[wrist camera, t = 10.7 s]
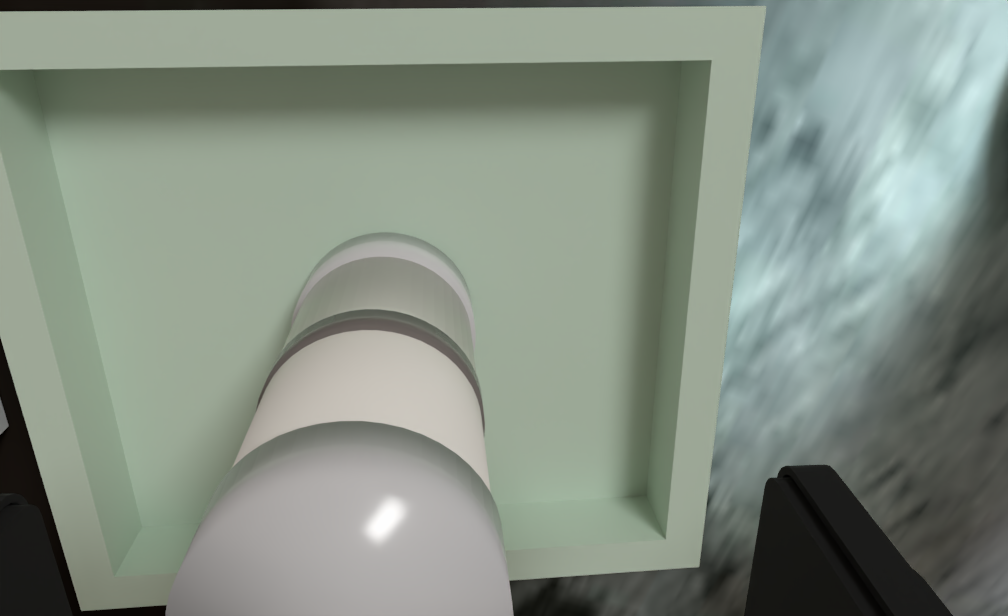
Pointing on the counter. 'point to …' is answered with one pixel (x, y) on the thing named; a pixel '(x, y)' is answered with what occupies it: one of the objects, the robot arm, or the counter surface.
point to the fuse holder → (2, 419)
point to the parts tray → (363, 210)
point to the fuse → (360, 457)
